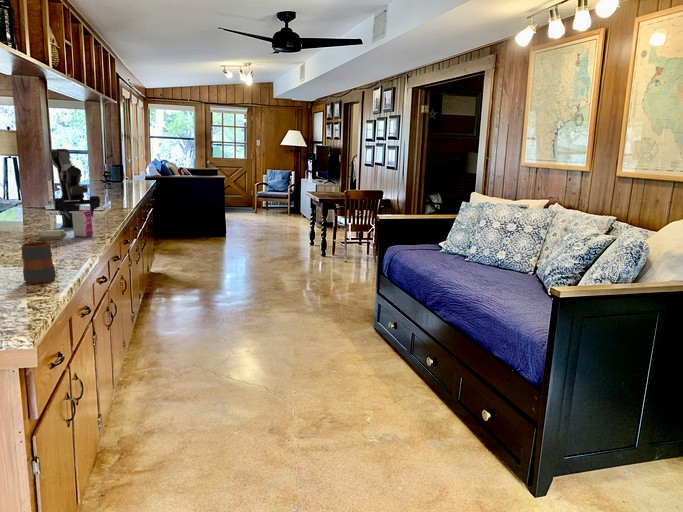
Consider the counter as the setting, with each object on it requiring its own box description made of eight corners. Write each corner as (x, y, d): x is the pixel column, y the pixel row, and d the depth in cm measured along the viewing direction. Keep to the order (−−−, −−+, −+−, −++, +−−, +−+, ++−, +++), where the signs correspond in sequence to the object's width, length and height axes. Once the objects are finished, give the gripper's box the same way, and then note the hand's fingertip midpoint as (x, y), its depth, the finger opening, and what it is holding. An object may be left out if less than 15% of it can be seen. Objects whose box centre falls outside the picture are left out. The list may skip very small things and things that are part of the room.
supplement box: (85, 237, 233) (82, 212, 231) (73, 237, 234) (70, 211, 232) (93, 235, 239) (91, 210, 236) (82, 234, 240) (79, 210, 237)
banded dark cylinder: (58, 273, 170) (53, 238, 168) (55, 282, 160) (50, 245, 157) (27, 276, 167) (22, 240, 164) (22, 286, 156) (17, 247, 154)
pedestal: (44, 236, 235) (43, 230, 234) (66, 235, 237) (66, 229, 237) (39, 240, 226) (38, 233, 226) (62, 239, 229) (61, 232, 228)
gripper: (51, 180, 231) (58, 207, 224) (97, 178, 241) (104, 204, 235) (51, 196, 239) (57, 223, 232) (95, 194, 249) (102, 219, 243)
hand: (81, 217), depth 235 cm, fingers open, 9 cm apart
